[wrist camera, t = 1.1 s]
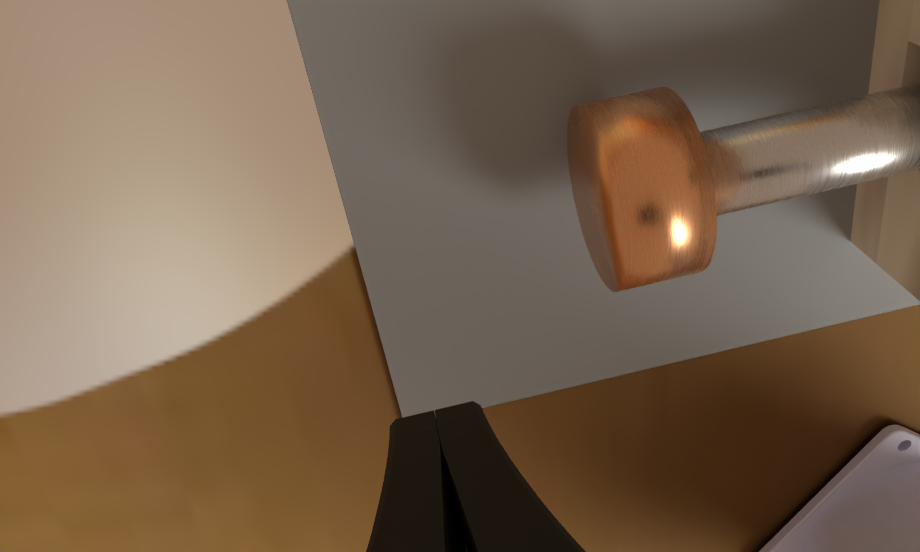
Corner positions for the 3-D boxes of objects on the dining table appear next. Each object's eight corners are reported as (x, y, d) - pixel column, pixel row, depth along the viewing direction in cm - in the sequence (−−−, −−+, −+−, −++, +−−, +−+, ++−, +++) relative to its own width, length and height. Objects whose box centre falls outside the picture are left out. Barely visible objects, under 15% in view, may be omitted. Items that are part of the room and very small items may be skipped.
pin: (953, -7, 20) (1100, 44, 16) (925, 154, 22) (1049, 230, 19) (559, 79, 19) (620, 151, 16) (575, 234, 22) (630, 329, 18)
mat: (1322, -355, 18) (1332, -356, 18) (1116, 253, 27) (1121, 256, 26) (249, -139, 17) (248, -138, 16) (404, 422, 25) (404, 426, 25)
